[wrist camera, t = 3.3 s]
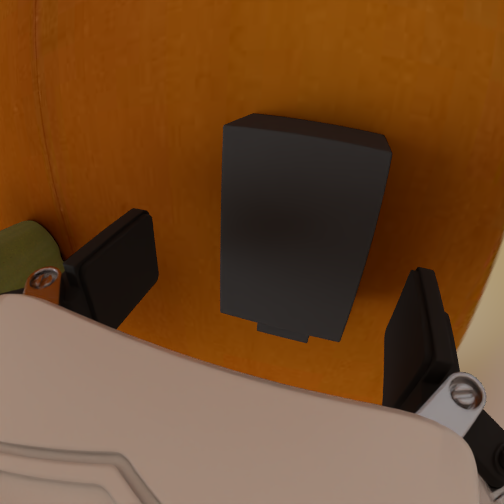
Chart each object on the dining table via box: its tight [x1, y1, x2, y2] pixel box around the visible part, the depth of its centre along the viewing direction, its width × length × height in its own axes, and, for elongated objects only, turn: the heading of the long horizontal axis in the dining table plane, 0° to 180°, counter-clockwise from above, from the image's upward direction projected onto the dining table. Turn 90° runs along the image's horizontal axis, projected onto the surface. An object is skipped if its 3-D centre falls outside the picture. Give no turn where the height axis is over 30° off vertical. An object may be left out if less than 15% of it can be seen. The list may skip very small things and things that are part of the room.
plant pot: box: [0, 221, 65, 294], centre depth 20 cm, size 12×12×11 cm
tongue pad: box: [220, 113, 392, 343], centre depth 15 cm, size 6×12×4 cm, turn 177°
